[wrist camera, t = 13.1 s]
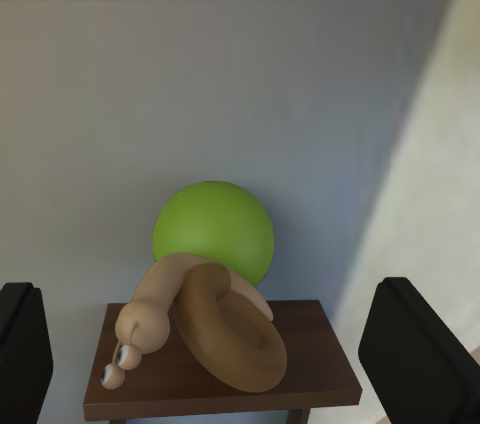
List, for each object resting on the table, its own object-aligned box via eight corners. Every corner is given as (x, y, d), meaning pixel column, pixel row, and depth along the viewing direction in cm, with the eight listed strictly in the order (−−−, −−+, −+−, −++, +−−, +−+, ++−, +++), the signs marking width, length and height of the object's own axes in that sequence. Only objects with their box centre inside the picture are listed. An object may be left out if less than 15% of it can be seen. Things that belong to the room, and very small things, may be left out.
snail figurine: (181, 129, 19) (182, 282, 8) (283, 204, 21) (392, 399, 10) (116, 216, 20) (43, 446, 9) (219, 277, 22) (255, 516, 12)
